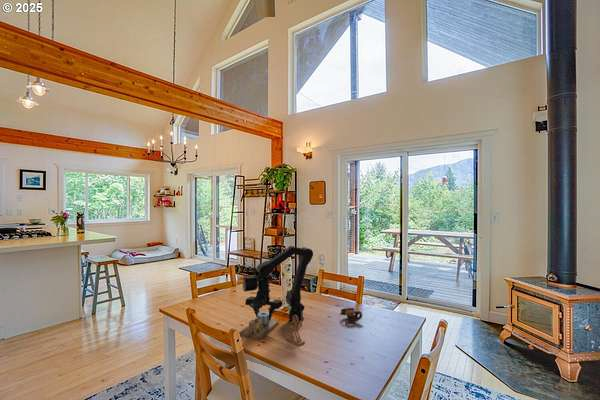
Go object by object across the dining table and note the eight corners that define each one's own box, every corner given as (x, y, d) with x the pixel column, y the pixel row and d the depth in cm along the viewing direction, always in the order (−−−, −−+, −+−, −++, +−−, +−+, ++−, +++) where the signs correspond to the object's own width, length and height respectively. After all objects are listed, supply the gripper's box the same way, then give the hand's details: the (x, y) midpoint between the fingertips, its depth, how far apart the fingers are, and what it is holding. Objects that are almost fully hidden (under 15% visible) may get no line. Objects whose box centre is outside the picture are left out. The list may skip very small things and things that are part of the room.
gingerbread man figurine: (285, 339, 133) (285, 313, 133) (291, 336, 135) (291, 311, 135) (299, 346, 126) (299, 319, 126) (305, 343, 129) (305, 316, 129)
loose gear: (272, 320, 148) (272, 312, 148) (266, 325, 142) (266, 317, 142) (261, 318, 151) (261, 310, 151) (254, 323, 144) (254, 315, 145)
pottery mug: (339, 325, 148) (337, 308, 153) (344, 327, 156) (342, 311, 160) (362, 322, 145) (359, 305, 149) (366, 324, 153) (363, 308, 157)
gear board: (278, 324, 149) (278, 311, 149) (262, 339, 132) (262, 325, 132) (258, 320, 153) (258, 308, 153) (239, 335, 136) (239, 322, 137)
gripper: (239, 291, 142) (239, 322, 142) (273, 295, 136) (273, 328, 136) (250, 285, 153) (250, 314, 153) (282, 288, 146) (282, 319, 146)
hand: (263, 319), depth 147 cm, fingers closed on loose gear, 6 cm apart
